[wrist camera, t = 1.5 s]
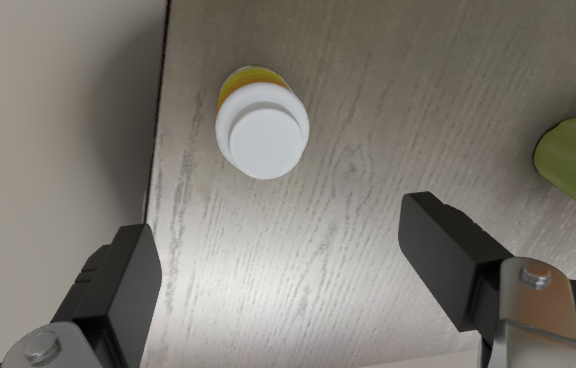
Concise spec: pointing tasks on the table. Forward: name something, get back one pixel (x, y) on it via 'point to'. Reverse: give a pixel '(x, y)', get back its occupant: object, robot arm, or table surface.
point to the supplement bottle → (260, 123)
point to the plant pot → (559, 156)
